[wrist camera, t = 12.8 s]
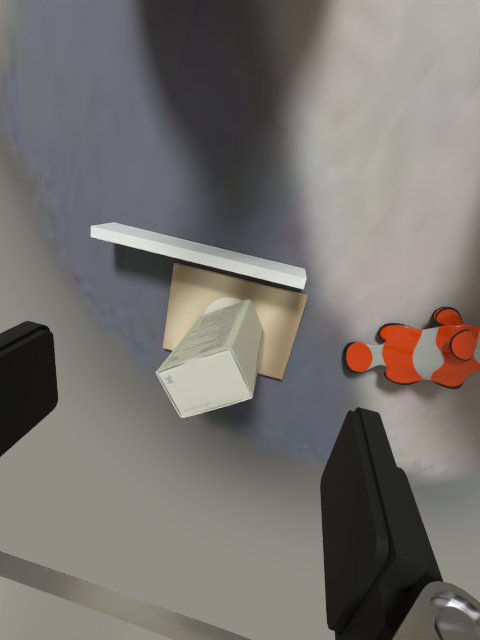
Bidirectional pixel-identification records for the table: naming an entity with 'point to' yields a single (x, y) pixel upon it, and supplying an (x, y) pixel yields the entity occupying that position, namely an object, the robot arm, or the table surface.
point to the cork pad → (223, 290)
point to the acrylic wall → (201, 254)
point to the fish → (421, 352)
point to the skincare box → (215, 361)
